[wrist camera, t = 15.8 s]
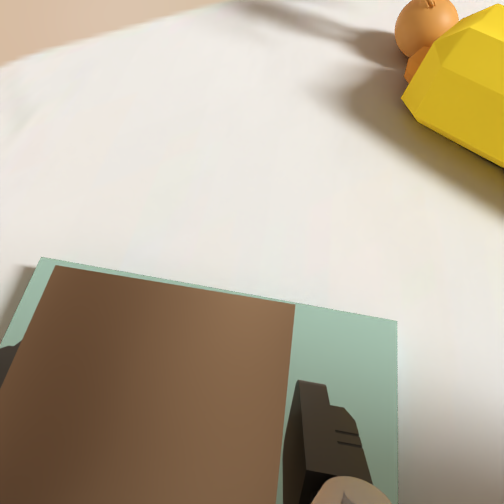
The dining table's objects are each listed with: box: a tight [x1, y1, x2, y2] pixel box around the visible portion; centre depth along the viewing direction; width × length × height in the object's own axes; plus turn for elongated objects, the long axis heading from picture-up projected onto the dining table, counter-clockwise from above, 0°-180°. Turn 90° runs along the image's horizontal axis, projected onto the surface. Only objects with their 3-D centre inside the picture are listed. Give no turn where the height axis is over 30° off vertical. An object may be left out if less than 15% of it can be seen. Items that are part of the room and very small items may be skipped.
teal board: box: [0, 257, 398, 504], centre depth 17 cm, size 16×16×1 cm
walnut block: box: [0, 265, 295, 504], centre depth 12 cm, size 5×5×10 cm
